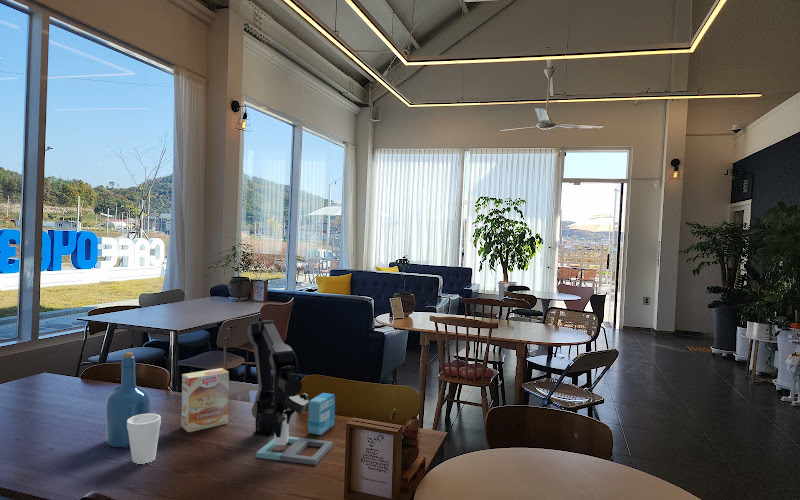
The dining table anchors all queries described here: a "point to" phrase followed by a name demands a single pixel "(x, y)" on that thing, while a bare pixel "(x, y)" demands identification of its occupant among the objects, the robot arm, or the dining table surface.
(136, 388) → the wine bottle
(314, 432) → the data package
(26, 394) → the dining table surface
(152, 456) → the foam cup
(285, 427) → the white salt shaker
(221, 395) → the coffeecake box
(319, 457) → the panel
